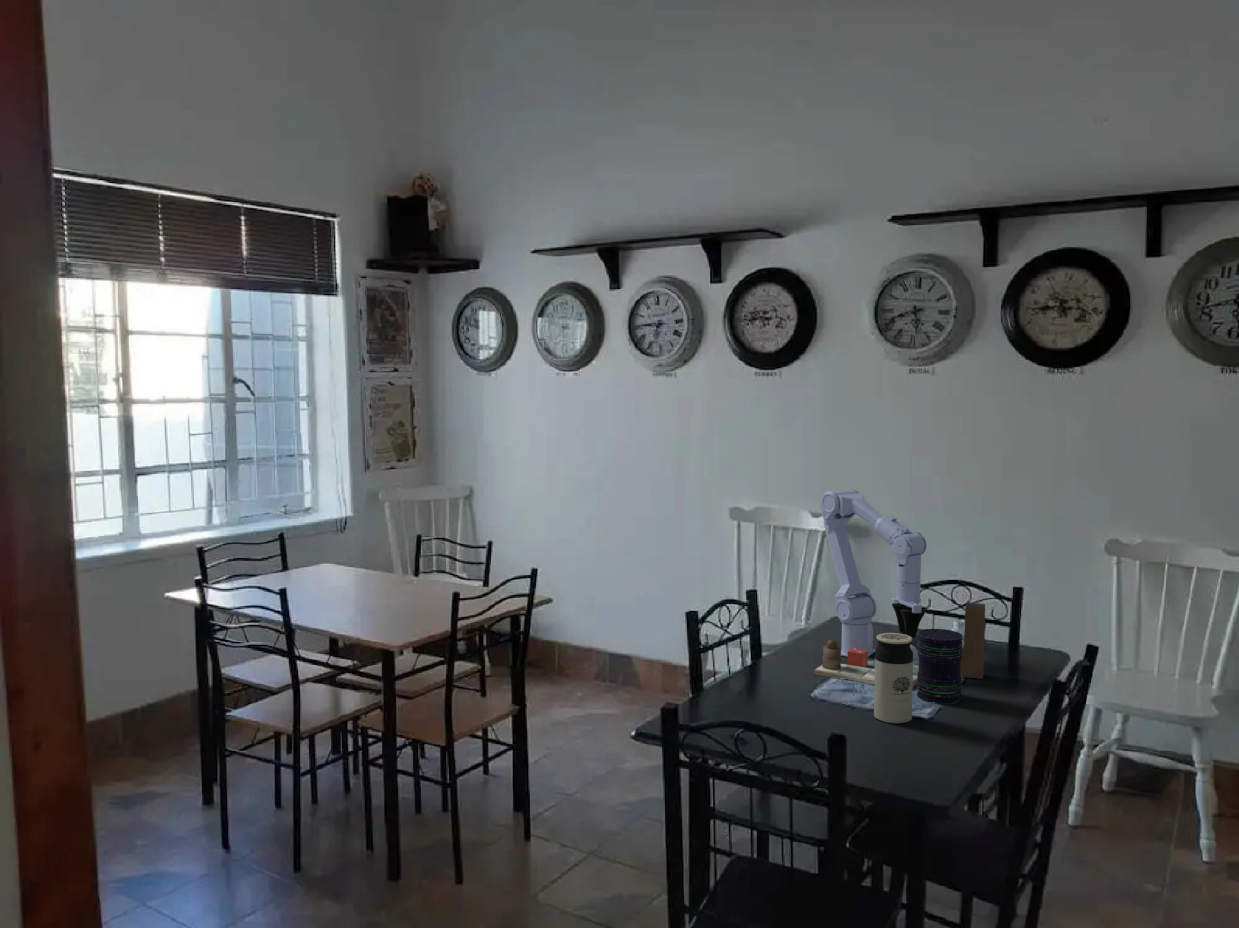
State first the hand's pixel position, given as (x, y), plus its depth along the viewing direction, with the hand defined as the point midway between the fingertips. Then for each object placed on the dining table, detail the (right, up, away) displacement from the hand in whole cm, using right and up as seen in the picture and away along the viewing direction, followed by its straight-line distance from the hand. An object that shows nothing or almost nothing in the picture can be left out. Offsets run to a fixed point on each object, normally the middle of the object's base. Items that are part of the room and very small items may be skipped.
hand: (907, 634), depth 248 cm
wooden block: (+13, -10, -3) cm, 17 cm away
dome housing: (0, -9, +1) cm, 9 cm away
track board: (-11, -10, -4) cm, 15 cm away
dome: (0, -8, +1) cm, 8 cm away
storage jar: (+2, -11, -19) cm, 22 cm away
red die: (-11, -9, +6) cm, 15 cm away
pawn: (-19, -8, +1) cm, 21 cm away
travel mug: (-13, -13, -32) cm, 37 cm away
